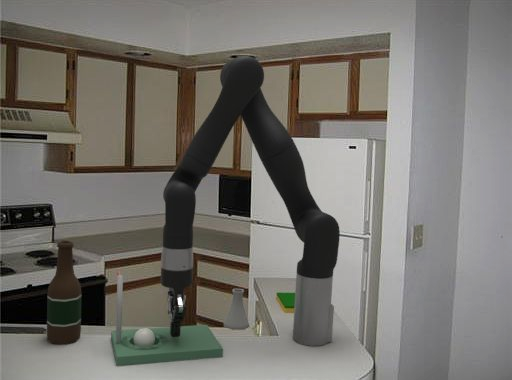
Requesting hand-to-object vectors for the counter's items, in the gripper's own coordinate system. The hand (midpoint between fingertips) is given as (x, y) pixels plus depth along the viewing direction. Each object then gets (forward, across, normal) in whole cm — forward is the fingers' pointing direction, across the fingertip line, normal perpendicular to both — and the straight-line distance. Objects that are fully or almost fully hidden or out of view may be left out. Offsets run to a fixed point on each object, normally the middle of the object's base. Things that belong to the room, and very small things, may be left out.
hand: (175, 335), depth 134 cm
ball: (0, 0, +7) cm, 7 cm away
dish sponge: (+4, +25, -41) cm, 48 cm away
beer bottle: (+3, +10, +25) cm, 27 cm away
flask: (+3, +11, -19) cm, 22 cm away
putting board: (+3, 0, +2) cm, 4 cm away
